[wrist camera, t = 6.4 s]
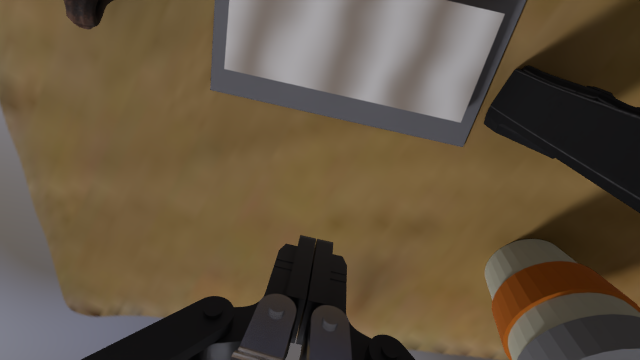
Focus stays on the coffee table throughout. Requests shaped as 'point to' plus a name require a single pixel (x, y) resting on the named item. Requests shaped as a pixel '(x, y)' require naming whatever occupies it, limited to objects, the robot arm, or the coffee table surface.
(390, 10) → the plank
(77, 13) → the pottery mug
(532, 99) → the portable radio
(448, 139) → the underlay mat
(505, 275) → the reusable coffee cup
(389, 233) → the coffee table surface
